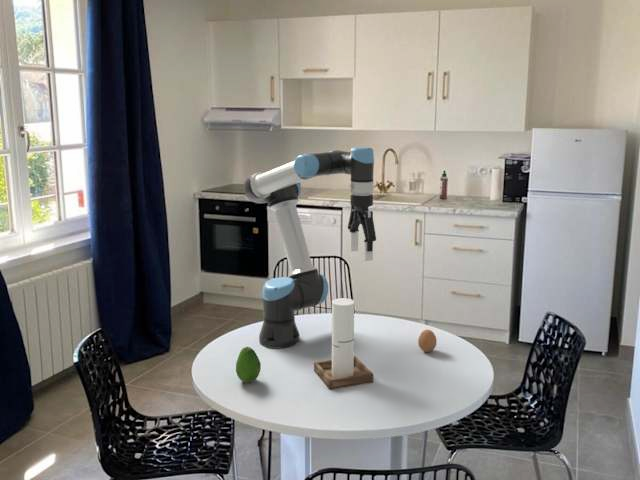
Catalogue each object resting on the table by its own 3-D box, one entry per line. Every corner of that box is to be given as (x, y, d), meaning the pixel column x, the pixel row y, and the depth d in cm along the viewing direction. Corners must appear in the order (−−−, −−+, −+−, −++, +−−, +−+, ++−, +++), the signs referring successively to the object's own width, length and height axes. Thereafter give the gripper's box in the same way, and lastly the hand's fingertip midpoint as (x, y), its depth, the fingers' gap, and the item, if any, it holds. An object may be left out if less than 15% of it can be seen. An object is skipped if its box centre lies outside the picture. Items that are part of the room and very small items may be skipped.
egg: (414, 350, 234) (414, 329, 232) (426, 346, 237) (427, 325, 235) (427, 356, 229) (428, 334, 227) (439, 352, 232) (440, 330, 230)
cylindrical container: (351, 379, 209) (352, 305, 203) (330, 377, 210) (329, 304, 204) (355, 370, 216) (355, 298, 210) (333, 368, 217) (334, 297, 211)
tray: (314, 370, 217) (313, 362, 217) (355, 364, 222) (355, 356, 222) (329, 389, 204) (329, 380, 203) (373, 382, 209) (373, 373, 208)
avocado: (237, 388, 205) (235, 352, 202) (235, 377, 213) (234, 343, 210) (262, 385, 207) (261, 350, 204) (259, 375, 214) (258, 341, 211)
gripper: (338, 188, 227) (338, 247, 232) (365, 200, 203) (364, 265, 208) (359, 187, 229) (358, 246, 234) (387, 199, 206) (385, 263, 211)
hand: (361, 255), depth 221 cm, fingers open, 13 cm apart
